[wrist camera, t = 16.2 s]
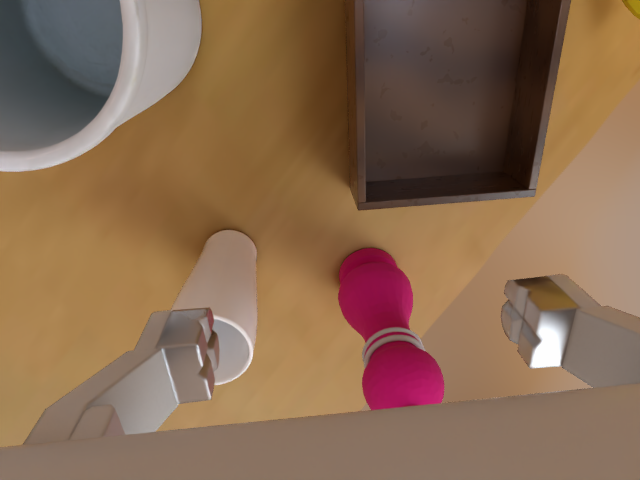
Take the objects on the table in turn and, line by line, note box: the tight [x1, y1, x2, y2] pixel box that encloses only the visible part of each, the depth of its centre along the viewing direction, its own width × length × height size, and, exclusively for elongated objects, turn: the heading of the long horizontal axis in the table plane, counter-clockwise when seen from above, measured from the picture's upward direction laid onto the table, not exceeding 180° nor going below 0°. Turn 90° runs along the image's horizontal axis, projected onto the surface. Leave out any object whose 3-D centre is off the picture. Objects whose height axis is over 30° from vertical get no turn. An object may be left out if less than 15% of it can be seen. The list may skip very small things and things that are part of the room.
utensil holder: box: [0, 0, 202, 172], centre depth 26 cm, size 15×15×18 cm
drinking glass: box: [171, 230, 258, 385], centre depth 37 cm, size 7×7×15 cm
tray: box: [345, 0, 571, 210], centre depth 34 cm, size 22×15×6 cm
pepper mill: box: [338, 248, 444, 410], centre depth 37 cm, size 7×7×20 cm
